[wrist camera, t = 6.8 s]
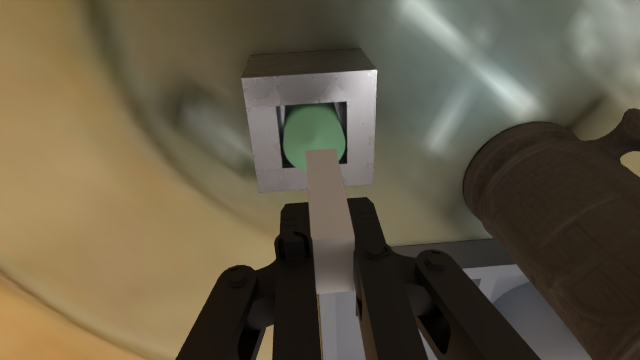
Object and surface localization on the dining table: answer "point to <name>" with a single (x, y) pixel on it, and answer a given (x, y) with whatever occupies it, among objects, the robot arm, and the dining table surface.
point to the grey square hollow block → (305, 88)
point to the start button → (311, 131)
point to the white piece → (539, 324)
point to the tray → (472, 256)
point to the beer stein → (569, 225)
